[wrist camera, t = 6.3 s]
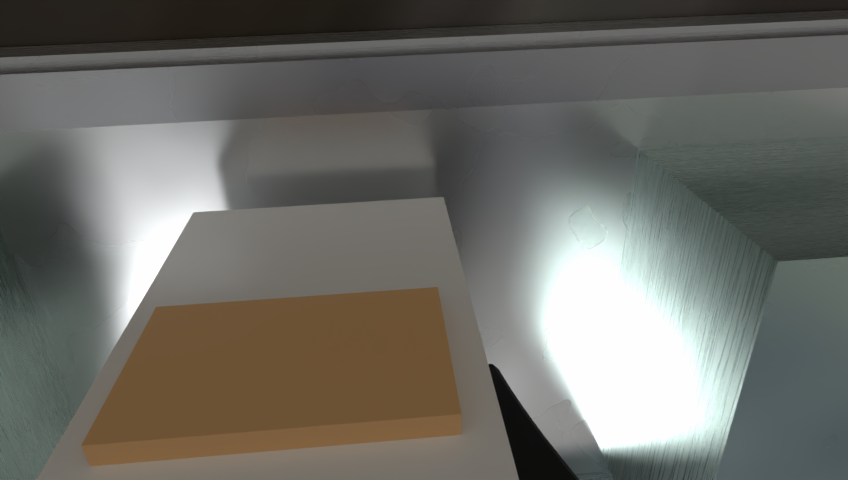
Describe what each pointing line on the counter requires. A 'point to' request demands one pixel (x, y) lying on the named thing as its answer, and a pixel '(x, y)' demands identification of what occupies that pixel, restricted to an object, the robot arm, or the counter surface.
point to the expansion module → (298, 357)
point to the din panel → (476, 214)
